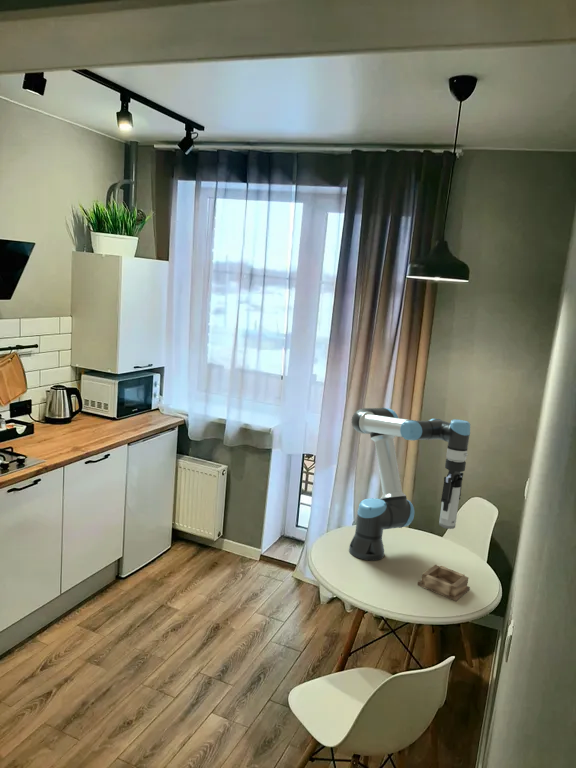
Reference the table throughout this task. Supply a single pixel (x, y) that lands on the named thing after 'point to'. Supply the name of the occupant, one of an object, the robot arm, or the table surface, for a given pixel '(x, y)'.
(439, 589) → the holder
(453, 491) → the travel mug
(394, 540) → the table surface
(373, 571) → the table surface
